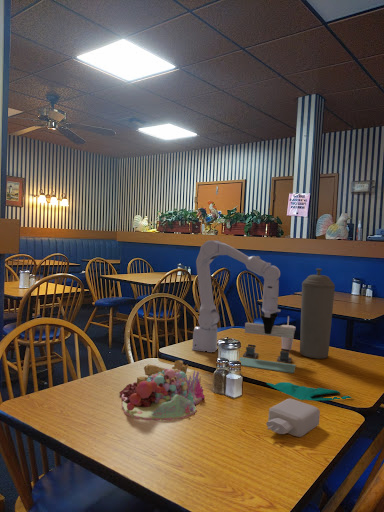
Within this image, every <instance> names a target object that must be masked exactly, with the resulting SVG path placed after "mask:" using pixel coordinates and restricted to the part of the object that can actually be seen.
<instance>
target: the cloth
mask: <svg viewBox="0 0 384 512" xmlns="http://www.w3.org/2000/svg"><path fill="white" fill-rule="evenodd" d="M266 385H268V386H270V387H271V388H274V389H276V390H277V391H279V392H281V393H283V394H286V395H287V396H291V397H292V398H295V399H296V400H299V401H300V400H301V401H315V402H316V401H335V400H334V399H340V398H337V397H334V398H333V399H332V398H323V397H324V396H329V395H333V394H334V395H340V394H341V392H340V391H338V390H335V389H330V388H329V389H328V388H324V387H317V388H315V387H307V386H304V385H302V386H301V385H297V384H294V383H291V382H287V381H286V382H285V381H281V382H279V383H278V382H277V383H275V384H274V383H269V382H266ZM338 393H339V394H338ZM319 396H320V397H319ZM342 396H343V397H341V398H342V399H346V398H352V396H351V395H342Z"/></svg>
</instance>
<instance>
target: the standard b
mask: <svg viewBox="0 0 384 512" xmlns="http://www.w3.org/2000/svg"><path fill="white" fill-rule="evenodd" d="M279 353H280V355H278V357H277V359H276V362H279V363H287V364H291V362H292V359H293V358H292V357H291V356H290V351H289V349H282V348H281V351H280V352H279Z"/></svg>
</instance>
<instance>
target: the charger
mask: <svg viewBox="0 0 384 512" xmlns="http://www.w3.org/2000/svg"><path fill="white" fill-rule="evenodd" d="M320 414H321V411H320V408H318V407H316V406H314V405H311V404H309V403H306V402H302V401H300V400H298V399H293V398H287V399H285V400H282V401H281V402H279V403H277V404H276V405H275V404H274V405H273V406H271V407H269V409H268V419H267V420H268V421H267V422H265V424H266V426H267V430H271V431H272V432H274V433H277V434H279V435H285V434H289V435H291V436H295V437H297V438H302V437H304V436H305V435H306V434H308V433H309V432H310V431H312V430H314V429H315V428H316V427H317V426H319V424H320V416H321V415H320Z"/></svg>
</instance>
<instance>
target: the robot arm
mask: <svg viewBox="0 0 384 512" xmlns="http://www.w3.org/2000/svg"><path fill="white" fill-rule="evenodd" d="M219 256H228V257H230V258H233V259H234V260H236V261H239V262H241V263H242V264H244V265H245V267H246V269H247V270H249V272H252V273H254V274H256V275H258V276H259V277H262V278H263V280H264V281H263V290H262V291H263V293H262V304H261V305H262V307H261V311H262V313H261V315H260V318H261V321H262V324H264V331H265V334H271V331H272V327H273V325H274V324H275V322H276V318H277V317H278V315H279V313H281V309H279V308H278V305H279V304H278V303H279V291H280V290H279V287H280V281H279V280H280V279H279V278H280V277H281V271H280V269H279V268H278V267H277V266H276V265H274V264H273V265H272V262H267V261H265V260H262V259H261V257H260V256H259V255H256V256H255V255H251V256H248V255H246V254H245V253H243V252H242V251H240V250H238V249H237V248H235V247H233V246H231V245H229V244H227V243H225V242H222V241H220V240H211V239H210V240H206V241H205V242H204V243H203V244H202V245H201V246H200V250H199V253H198V255H197V258H196V260H195V266H196V274H197V275H196V276H197V281H198V289H199V299H200V307H199V310H198V312H199V317H198V321H197V322H198V324H199V326H197V325H196V326H195V327H194V329H193V333H192V347H191V350H192V351H199V352H205V351H207V352H206V353H212V352H215V351H216V350H217V347H218V346H217V345H218V342H217V341H218V328H219V327H218V325H217V324H218V323H219V321H220V314H219V312H218V310H217V306H216V305H215V302H214V294H213V293H214V292H213V285H212V276H211V269H210V267H211V266H210V264H211V263H212V262H213V261H214V260H215V259H216V258H218V257H219ZM217 351H218V350H217ZM217 351H216V352H217ZM216 352H215V353H216Z"/></svg>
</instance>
